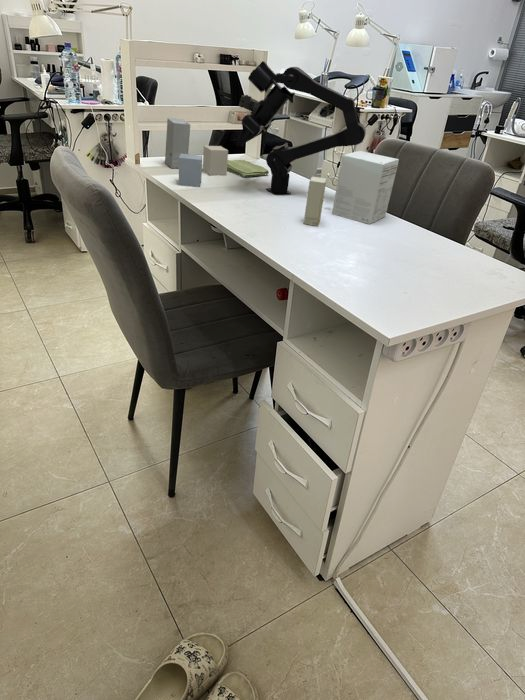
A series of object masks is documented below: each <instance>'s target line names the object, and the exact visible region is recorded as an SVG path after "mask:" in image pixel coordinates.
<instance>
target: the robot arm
mask: <svg viewBox="0 0 525 700" xmlns="http://www.w3.org/2000/svg"><path fill="white" fill-rule="evenodd" d="M248 81H249V82H250V83H251V84H252V85H253V86H254V87H255V88H256V89H257V90H258V91H259V92H260V93H261V94H262V93H263V92H264V93H267V94H266V96H265V97H264V99H260V100H256V99H254V98H252V96H250V95H248V94H242V95H241V97H240V99H239V104H238V106H239V107H240V108H241V109H243V108H244V109H246V110H247V111H250V114H246V115H244V116H243V117H242V119H241V126H242V130H241V131H240V133H239V134H240V135H239V136H238V137H237V138H238V139H237V141H236V143H235V144H236V146H238V147H240V146H241V145H244V144H245V143H247V142H249V141H251V140H253V139H254V138H256V137H258V136H260V135H261V134H263V133H265V132H267V131H268V130H269V129H270V127H271V126H272V120H273V119H274V118H275V117H276V116H278V113H279V112H280V110H281V109H282V108H283V107H284V106H285V104H286V103H287V101H289V102H290V103H292V104H293V103H295V102H296V99H295V97H296V96H295V95H296V92H301V93H305V94H308V95H311V96H313V97H315V98H317V99H319V100H320V101H323V102H325V103H327V104H329V105H331V106H332V107H334V108H336V109H339V110H341V111H342V114H343V119H344V122H345V126H346V127H344V128H342V129H340V130H339V131H337V132H335V133H334V134H329V135H327V136H323V137H321V138H317V139H315V140H312V141H308V142H305V143H302V144H299V145H295V146H289V145H288V144H289V143H288V142H285V143H284V144H283V145H275V146H274V147H273V148H272V151H270V152H268V154H267V155H266V161H265V162H266V164H267V166H268V168H270V172H271V173H270V174H271V181H270V187H267V188H266V190H267V191H268V192H270V193H271V194H273V195H276V196H277V195H279V196H280V195H292V192H290V191H289V190H288V189H289V184H290V183H289V182H290V173H291V171H292V168H293V165H292V162H295V160H298V159H302V158H305V157H308V156H312V155H315V154H318V153H321V152H323V151H327V150H330V149H333V148H336V147H337V148H338V147H350V146H351V147H352V146H358V145H361V143H362V142H364V139H365V137H366V134H367V129H366V126H365V125H364V124H363V123H361V121H360V117H359V114H358V111H357V107H356V102H355V99H353V98H352V97H348V96H346V95H344V94H342V93H340V92H338V91H336V90H333V88H331V87H328V86H326V85H324V84H323V83H320V82H319V81H316V80H315V79H314V78H313V77H311V75H309V74H308V73H307V72H305V71H304V70H303V69H302V68H300V67H298V66H291V67H290V66H289V67H288V68H286V69H285V70H284V72H283V73H280V72H279V73H278V72H277V73H276V72H274V71H273V70H272V69H271V68H270V66H269V65H268V63H267V62H266V61H265V60H264V61H261V62H260V63H259V64H258V65H257V66H256V67H255V68H253V70H252V71H251V73H250V74H249V76H248ZM280 84H283V85H284V86H281V85H280ZM271 88H272V89H271ZM269 90H270V91H269ZM290 90H292V91H296V92H291V91H290Z"/></svg>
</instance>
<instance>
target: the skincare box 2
mask: <svg viewBox="0 0 525 700" xmlns="http://www.w3.org/2000/svg"><path fill="white" fill-rule="evenodd" d="M308 183H309V185H308V190H307V197H306V204H305V212H304V218H303V219H304V220H303V224H305V225H308V224H310V225H309V226H314V225H315V226H316V227H318V226H319V224H320V223H321V222H320V221H321V216H322V210H323V205H324V200H325V199H324V198H325V197H324V196H325V192H326V184H327V178H325V177H318V176H311V177H310V180H309V182H308Z"/></svg>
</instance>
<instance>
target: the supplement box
mask: <svg viewBox="0 0 525 700" xmlns="http://www.w3.org/2000/svg"><path fill="white" fill-rule="evenodd" d="M399 160H400V159H399V158H395V157H391V156H385V155H382V154H381V155H380V154H376V153H371V152H367V151H364V150H357V151H354V152H349V153H346V154H342V155H341V163H340V167H339V173H338V179H337V184H336V188H335V194H334V195H335V196H334V200H333V205H332V210H331V214H333V215H336V216H339V217H344V218H346V219H350V220H353V221H357V222H359V223H360V222H361V223H363V224H367V225H371V224H372V223H375V222H376V221H379V220H380V219H382V218H384V217H386V215H387V212H388V206H389V203H390V200H391V195H392V191H393V186H394V183H395V179H396V174H397V170H398V166H399Z"/></svg>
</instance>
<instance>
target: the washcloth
mask: <svg viewBox="0 0 525 700" xmlns="http://www.w3.org/2000/svg"><path fill="white" fill-rule="evenodd" d="M228 171H229V173H231V172H232V174H234V173H235V175H237V176H239V175H240V177H241V178H244V177H245V178H251V177H250V176H254V177H258V176H266V175H265V174H267V175H268V174H269V173H270V171H269V170H268V169H267V168H266V167H264V166H261V165H258V164H255V163H252V162H250V161H248V160H246V159H233V160H229V159H228V161H227V172H228Z"/></svg>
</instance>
